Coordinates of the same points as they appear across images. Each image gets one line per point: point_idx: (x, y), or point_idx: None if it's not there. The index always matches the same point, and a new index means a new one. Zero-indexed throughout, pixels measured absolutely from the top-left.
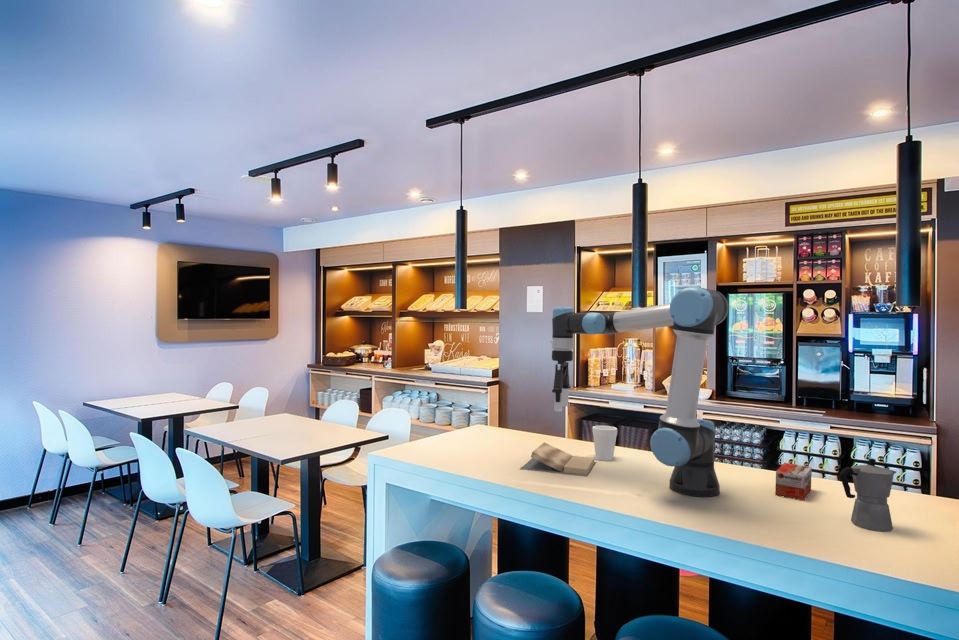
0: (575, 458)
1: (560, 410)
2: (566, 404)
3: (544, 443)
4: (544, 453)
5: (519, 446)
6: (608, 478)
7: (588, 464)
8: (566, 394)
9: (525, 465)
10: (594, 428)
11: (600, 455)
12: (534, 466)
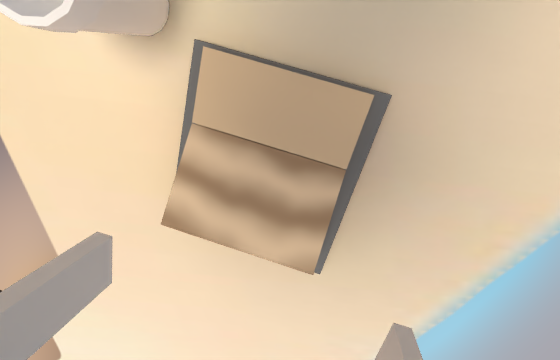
0: (228, 118)
1: (410, 344)
2: (99, 255)
3: (173, 224)
4: (282, 231)
5: (60, 245)
6: (370, 16)
7: (306, 81)
8: (5, 327)
9: None
10: (61, 18)
11: (154, 16)
12: None
